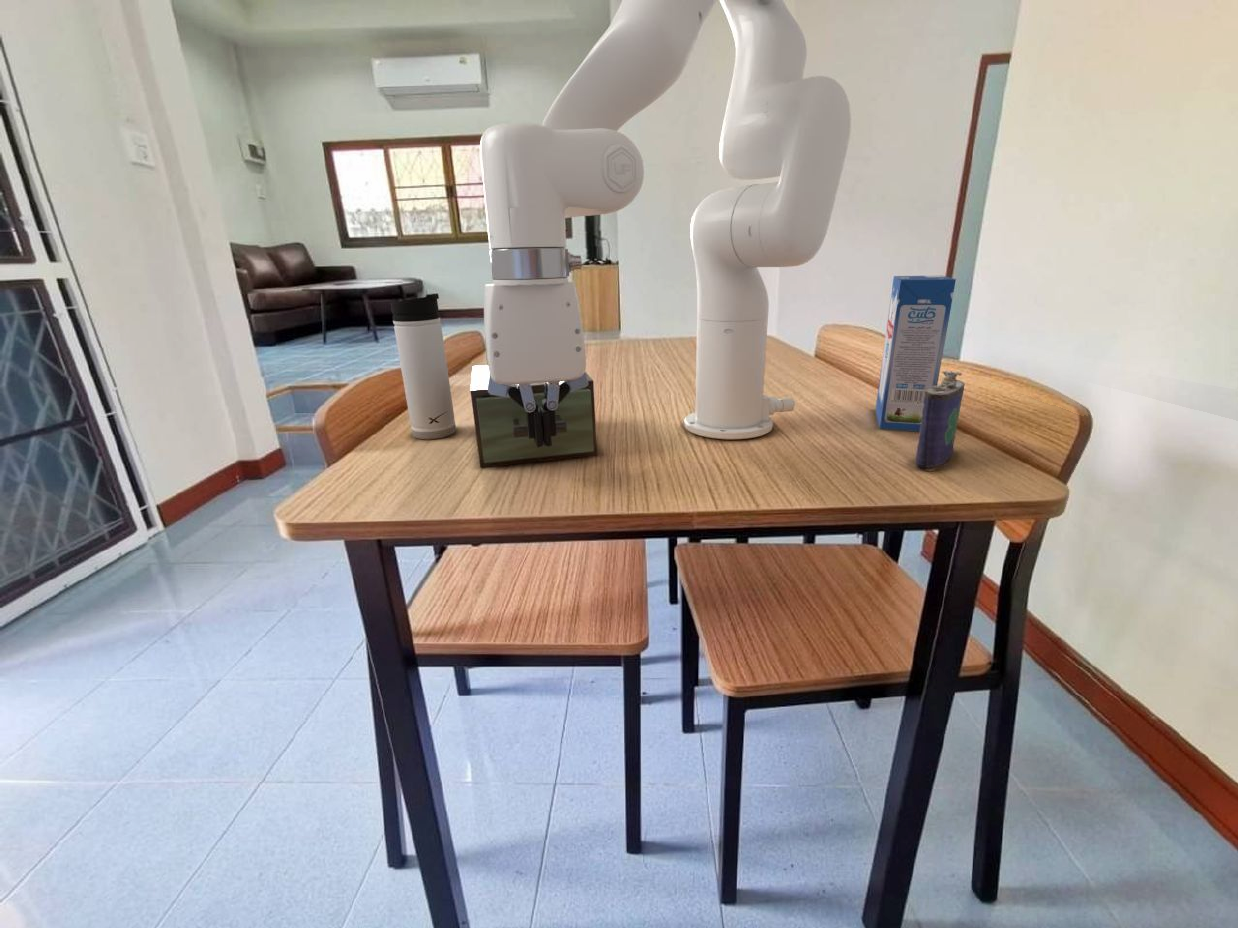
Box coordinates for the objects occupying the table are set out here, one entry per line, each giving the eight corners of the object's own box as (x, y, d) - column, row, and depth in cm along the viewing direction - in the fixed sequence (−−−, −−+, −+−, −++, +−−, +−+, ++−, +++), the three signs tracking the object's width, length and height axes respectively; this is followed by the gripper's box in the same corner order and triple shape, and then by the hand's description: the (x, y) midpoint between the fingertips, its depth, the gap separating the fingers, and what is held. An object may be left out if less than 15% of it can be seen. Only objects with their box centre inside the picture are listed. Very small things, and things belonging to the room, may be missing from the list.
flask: (932, 447, 71) (947, 363, 67) (958, 451, 69) (975, 365, 65) (909, 468, 65) (924, 376, 61) (937, 473, 63) (955, 380, 59)
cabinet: (597, 455, 72) (593, 380, 69) (480, 467, 69) (470, 390, 66) (578, 422, 87) (574, 359, 83) (480, 431, 84) (472, 366, 80)
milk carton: (875, 410, 88) (893, 276, 80) (919, 413, 86) (942, 275, 78) (879, 428, 79) (900, 279, 72) (929, 432, 77) (956, 279, 70)
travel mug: (445, 440, 80) (424, 295, 73) (404, 439, 81) (378, 296, 74) (465, 427, 86) (447, 292, 79) (426, 426, 87) (404, 293, 80)
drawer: (601, 464, 66) (598, 400, 64) (484, 477, 64) (475, 410, 61) (576, 420, 84) (573, 368, 81) (484, 429, 82) (477, 375, 79)
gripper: (594, 266, 61) (600, 427, 67) (452, 270, 57) (473, 440, 64) (611, 267, 54) (616, 446, 61) (451, 271, 51) (474, 461, 57)
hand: (542, 442), depth 62 cm, fingers closed
